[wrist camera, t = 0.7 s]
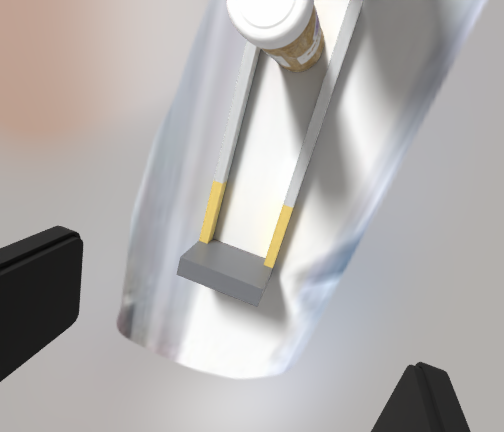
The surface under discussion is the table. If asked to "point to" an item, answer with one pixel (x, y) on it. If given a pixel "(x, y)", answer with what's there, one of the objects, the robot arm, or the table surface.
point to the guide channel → (207, 249)
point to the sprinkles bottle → (280, 29)
